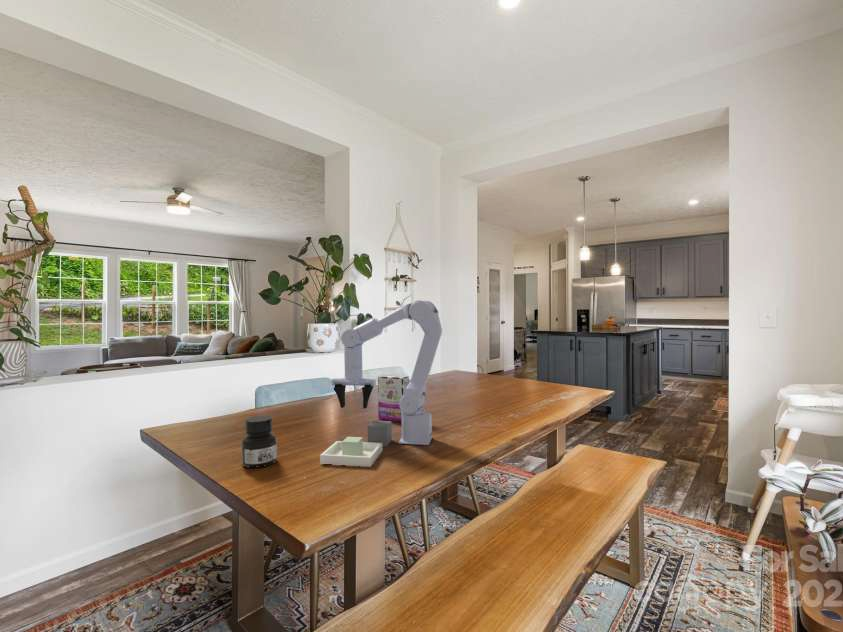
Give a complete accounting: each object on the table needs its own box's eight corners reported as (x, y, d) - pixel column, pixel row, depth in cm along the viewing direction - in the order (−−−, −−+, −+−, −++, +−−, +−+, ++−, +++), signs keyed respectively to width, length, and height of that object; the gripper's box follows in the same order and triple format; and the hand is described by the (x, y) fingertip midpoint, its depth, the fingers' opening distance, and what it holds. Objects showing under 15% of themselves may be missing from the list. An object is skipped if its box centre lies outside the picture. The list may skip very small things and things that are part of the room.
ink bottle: (244, 471, 106) (243, 425, 106) (236, 461, 113) (236, 418, 113) (282, 463, 112) (282, 419, 112) (273, 454, 119) (272, 412, 119)
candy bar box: (410, 419, 155) (409, 376, 155) (403, 422, 151) (402, 378, 151) (385, 416, 160) (384, 374, 160) (377, 419, 156) (377, 376, 156)
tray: (382, 451, 120) (382, 443, 120) (370, 467, 108) (370, 457, 108) (336, 449, 123) (336, 440, 123) (320, 464, 111) (320, 455, 111)
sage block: (362, 453, 117) (362, 437, 117) (357, 458, 113) (357, 442, 113) (347, 452, 118) (347, 436, 118) (342, 457, 114) (342, 441, 114)
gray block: (391, 440, 131) (391, 421, 131) (386, 446, 125) (386, 426, 125) (373, 439, 132) (373, 420, 132) (367, 445, 126) (367, 425, 126)
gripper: (327, 367, 132) (328, 409, 132) (371, 368, 130) (371, 411, 130) (335, 364, 139) (336, 404, 139) (377, 365, 137) (378, 406, 137)
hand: (354, 407), depth 135 cm, fingers open, 7 cm apart
